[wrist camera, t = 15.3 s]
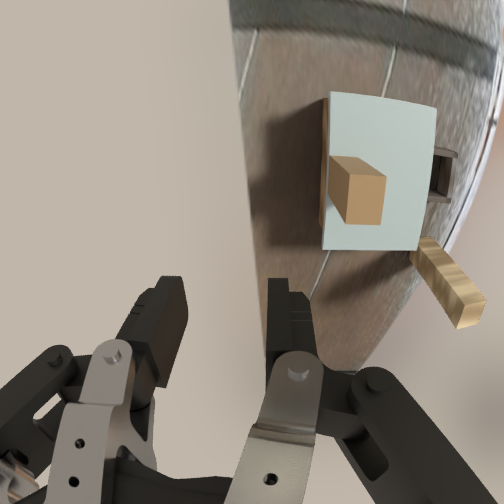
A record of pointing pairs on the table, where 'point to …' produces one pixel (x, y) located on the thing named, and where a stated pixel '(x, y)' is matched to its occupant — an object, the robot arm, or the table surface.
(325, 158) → the wooden box
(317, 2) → the table surface
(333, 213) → the lid
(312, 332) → the robot arm
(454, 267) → the wooden block
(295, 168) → the table surface
